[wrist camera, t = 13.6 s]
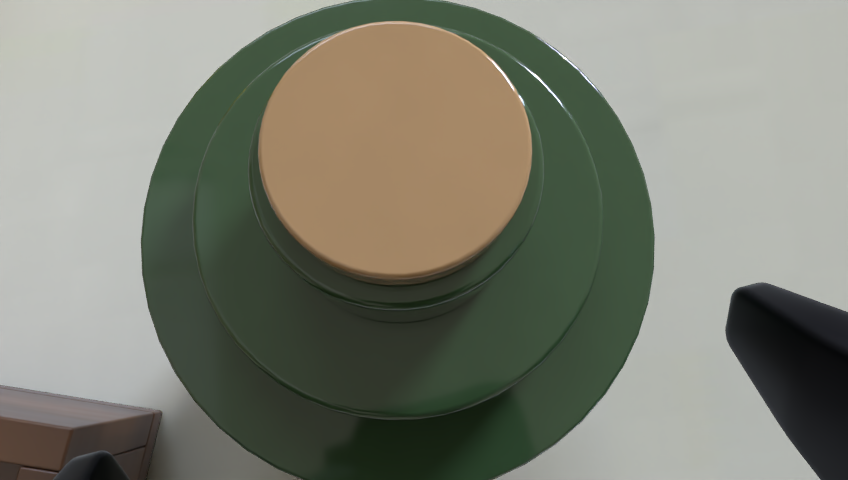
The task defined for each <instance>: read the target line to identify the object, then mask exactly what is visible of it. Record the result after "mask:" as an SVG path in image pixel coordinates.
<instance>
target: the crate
mask: <svg viewBox="0 0 848 480" xmlns="http://www.w3.org/2000/svg"><path fill="white" fill-rule="evenodd" d="M161 415H162V411H159V410H153V409H147V408H140V407H134V406H128V405H122V404H115V403H109V402H103V401H97V400H90V399H84V398H78V397H72V396H65V395H59V394H53V393H47V392H40V391H34V390H28V389H22V388H15V387H9V386H3V385H0V480H53V479H54V477H55V476H56V475H57V474H58V473H59V472H60V471H61V470H62V469H63V468H64V466H65V465H66V464H67V463H68V462H69V461H71V460H72V459H73V458H75V457H78V456H82V455H85V454H89V453H93V452H97V451H107V452H109V453H111V454H112V455H113V457H114V458H115V459H116V461H117V462H118V463H119V465H120V466H121V468H122V469H123V470H124V472H125V473H126V474H127V476H128V477H129V479H130V480H146V476H147V472H148V468H149V464H150V460H151V456H152V452H153V448H154V444H155V440H156V436H157V432H158V428H159V423H160V419H161Z"/></svg>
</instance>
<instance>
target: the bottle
mask: <svg viewBox="0 0 848 480" xmlns="http://www.w3.org/2000/svg"><path fill="white" fill-rule="evenodd" d="M141 255H142V276H143V281H144V287H145V292H146V298H147V303H148V309H149V312H150V315H151V318H152V321H153V324H154V327H155V330H156V333H157V336H158V339H159V342H160V344H161V346H162V348H163V350H164V352H165V354H166V356H167V358H168V360H169V362H170V364H171V366H172V368H173V370H174V372H175V374H176V375H177V376H178V378H179V379H180V381H181V382H182V384H183V385H184V387H185V388H186V390H187V391H188V393H189V394H190V395H191V397H192V398H193V400H194V401H195V402H196V403H197V405H198V406H199V407H200V408H201V409H202V410H203V411H204V412H205V413H206V414H207V415H208V417H209V418H210V419H211V420H212V421H213V422H214V423H215V424H216V425H217V426H218V427H219V428H220V429H221V430H222V431H223V432H225V433H226V434H227V435H228V436H230V437H231V438H232V439H233V440H234V441H236V442H237V443H238V444H239V445H241V446H242V447H243V448H244V449H245V450H247V451H248V452H250V453H252V454H253V455H255V456H257V457H258V458H260V459H262V460H263V461H265V462H267V463H268V464H270V465H272V466H273V467H275V468H277V469H278V470H281V471H283V472H285V473H288V474H290V475H292V476H295V477H297V478H300V479H302V480H493V479H495V478H498V477H500V476H502V475H504V474H506V473H508V472H510V471H512V470H514V469H517V468H519V467H521V466H523V465H525V464H527V463H528V462H530V461H531V460H533V459H534V458H536V457H537V456H539V455H540V454H542V453H543V452H545V451H546V450H548V449H550V448H551V447H553V446H554V445H556V444H557V443H558V442H559V441H560V440H561V439H562V438H564V437H565V436H566V435H567V434H568V433H569V432H570V431H572V430H573V429H574V428H575V427H576V426H577V425H578V424H580V423H581V422H582V421H583V420H584V419H585V417H586V416H587V415H588V414H589V413H590V412H591V410H592V409H593V408H594V407H595V406H596V405H597V403H598V402H599V401H600V400H601V399H602V398H603V396H604V395H605V394H606V393H607V391H608V389H609V388H610V386H611V385H612V383H613V382H614V380H615V379H616V377H617V375H618V374H619V372H620V371H621V369H622V368H623V366H624V364H625V362H626V360H627V358H628V356H629V354H630V351H631V349H632V347H633V345H634V343H635V341H636V339H637V336H638V334H639V331H640V328H641V324H642V321H643V318H644V315H645V311H646V308H647V305H648V301H649V295H650V289H651V282H652V276H653V270H654V227H653V217H652V208H651V202H650V198H649V194H648V189H647V185H646V181H645V177H644V173H643V171H642V168H641V165H640V163H639V160H638V157H637V155H636V152H635V150H634V147H633V144H632V143H631V141H630V139H629V137H628V135H627V133H626V131H625V129H624V128H623V126H622V124H621V122H620V120H619V118H618V117H617V115H616V114H615V112H614V111H613V109H612V108H611V107H610V105H609V104H608V102H607V101H606V100H605V98H604V97H603V95H602V94H601V93H600V91H599V90H598V89H597V88H596V87H595V86H594V85H593V84H592V83H591V81H590V80H589V79H588V78H587V77H586V76H585V75H584V74H583V73H582V72H581V71H580V69H578V68H577V67H576V66H575V65H574V64H573V63H571V62H570V61H569V60H568V59H567V58H566V57H564V56H563V55H562V54H561V53H560V52H559V51H557V50H556V49H555V48H553V47H552V46H550V45H549V44H547V43H546V42H544V41H543V40H541V39H540V38H538V37H537V36H535V35H534V34H532V33H531V32H529V31H527V30H525V29H523V28H521V27H519V26H517V25H515V24H513V23H511V22H509V21H507V20H505V19H503V18H501V17H498V16H495V15H493V14H490V13H487V12H484V11H482V10H479V9H476V8H473V7H469V6H465V5H460V4H456V3H452V2H448V1H442V0H354V1H350V2H346V3H341V4H337V5H333V6H328V7H324V8H321V9H319V10H316V11H313V12H310V13H307V14H305V15H302V16H299V17H296V18H294V19H292V20H290V21H288V22H286V23H284V24H282V25H280V26H278V27H276V28H274V29H272V30H270V31H268V32H266V33H265V34H263V35H262V36H260V37H259V38H257V39H256V40H254V41H253V42H251V43H250V44H248V45H247V46H245V47H244V48H242V49H241V50H240V51H238V52H237V53H236V54H235V55H234V56H233V57H231V58H230V59H229V60H228V61H227V62H225V63H224V64H223V65H222V66H221V67H220V68H218V69H217V70H216V71H215V73H214V74H213V75H212V76H211V77H210V78H209V79H208V80H207V81H206V82H205V83H204V85H203V86H202V87H201V88H200V89H199V90H198V91H197V92H196V94H195V95H194V96H193V98H192V99H191V101H190V102H189V103H188V105H187V106H186V108H185V109H184V110H183V112H182V113H181V115H180V116H179V117H178V119H177V121H176V123H175V125H174V127H173V128H172V130H171V132H170V134H169V136H168V138H167V140H166V141H165V143H164V145H163V147H162V150H161V153H160V155H159V158H158V161H157V163H156V166H155V169H154V171H153V174H152V176H151V181H150V185H149V189H148V194H147V198H146V202H145V206H144V214H143V225H142V235H141Z"/></svg>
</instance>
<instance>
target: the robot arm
mask: <svg viewBox="0 0 848 480" xmlns="http://www.w3.org/2000/svg"><path fill="white" fill-rule="evenodd" d="M725 331H726V338H727V341H728V343H729V346H730V347H731V349H732V351H733V352H734V354H735V355H736V357H737V359H738V360H739V362H740V363H741V365H742V366H743V368H744V370H745V371H746V373H747V374H748V376H749V378H750V379H751V381H752V382H753V384H754V385H755V387H756V389H757V390H758V392H759V393H760V395H761V396H762V398H763V400H764V401H765V403H766V404H767V406H768V408H769V409H770V411H771V412H772V414H773V415H774V417H775V419H776V420H777V422H778V423H779V425H780V426H781V428H782V429H783V431H784V432H785V434H786V435H787V436H788V438H789V439H790V440H791V442H792V443H793V444H794V446H795V447H796V448H797V450H798V451H799V452H800V454H801V455H802V456H803V458H804V459H805V460H806V461H807V463H808V464H809V465H810V467H811V468H812V469H813V470H814V472H815V473H816V474H817V476H818V477H819V478H820V479H821V480H848V312H846V311H843V310H840V309H838V308H835V307H832V306H829V305H826V304H824V303H821V302H818V301H815V300H813V299H810V298H807V297H804V296H801V295H799V294H796V293H793V292H790V291H788V290H785V289H782V288H779V287H777V286H774V285H771V284H768V283H756V284H752V285H748V286H744V287H740V288H737V289H736V290H735V291H734V292H733V294H732V296H731V301H730V307H729V312H728V318H727V323H726V330H725ZM53 480H130V479H129V477H128V476H127V474H126V473H125V472H124V470H123V469H122V468H121V466H120V465H119V463H118V462H117V461H116V459H115V458H114V457H113V455H112V454H111V453H109V452H107V451H97V452H93V453H89V454H85V455H82V456H78V457H75V458H73V459H72V460H71V461H69V462H68V463H67V464H66V465H65V466H64V468H63V469H62V470H61V471H60V472H59V473H58V474H57V475H56V476H55V477H54V479H53Z"/></svg>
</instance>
